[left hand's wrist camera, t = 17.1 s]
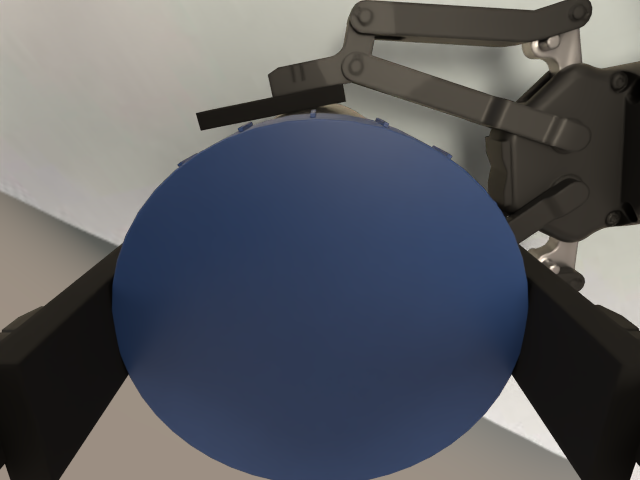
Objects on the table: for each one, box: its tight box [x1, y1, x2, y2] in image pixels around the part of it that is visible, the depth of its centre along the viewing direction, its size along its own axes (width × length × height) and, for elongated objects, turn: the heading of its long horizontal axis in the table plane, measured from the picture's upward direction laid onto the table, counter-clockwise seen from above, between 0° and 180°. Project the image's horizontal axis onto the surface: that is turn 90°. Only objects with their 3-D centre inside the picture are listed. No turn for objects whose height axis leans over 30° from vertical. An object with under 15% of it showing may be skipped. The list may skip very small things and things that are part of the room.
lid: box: [112, 110, 528, 480], centre depth 11 cm, size 10×10×2 cm
